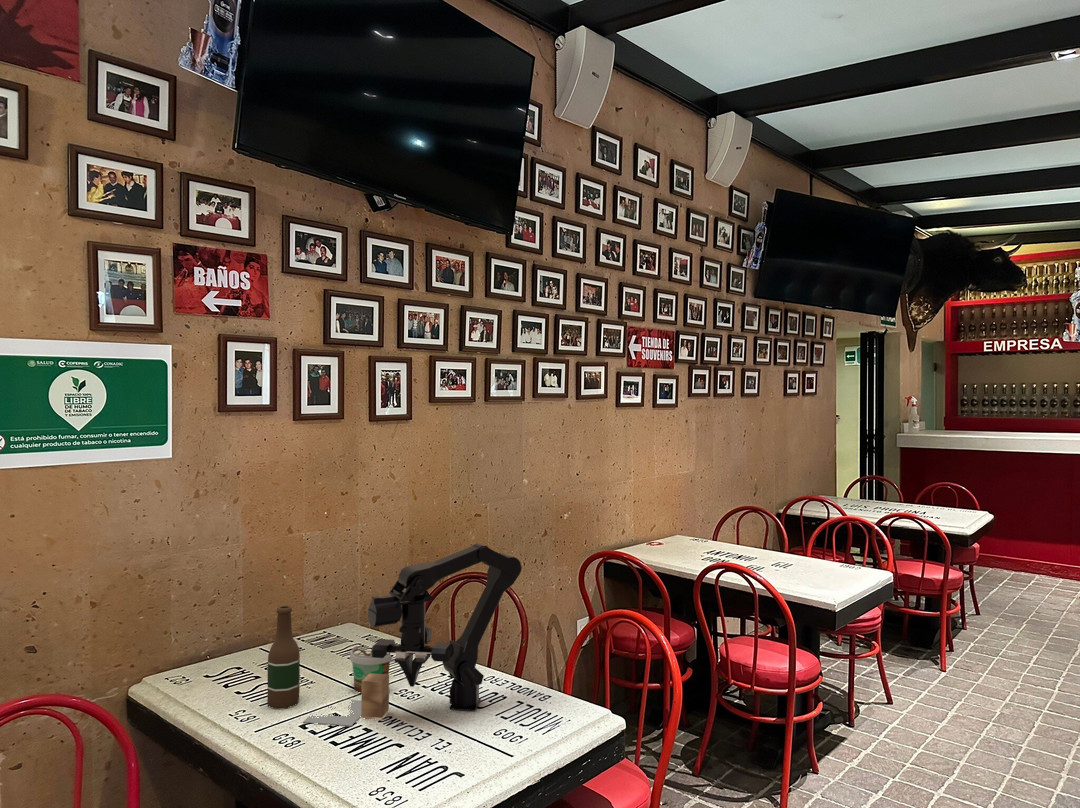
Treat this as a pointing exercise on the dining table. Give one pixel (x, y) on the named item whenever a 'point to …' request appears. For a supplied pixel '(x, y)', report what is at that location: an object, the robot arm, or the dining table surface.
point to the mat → (339, 720)
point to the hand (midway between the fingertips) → (412, 686)
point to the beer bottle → (283, 664)
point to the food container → (367, 665)
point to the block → (375, 696)
